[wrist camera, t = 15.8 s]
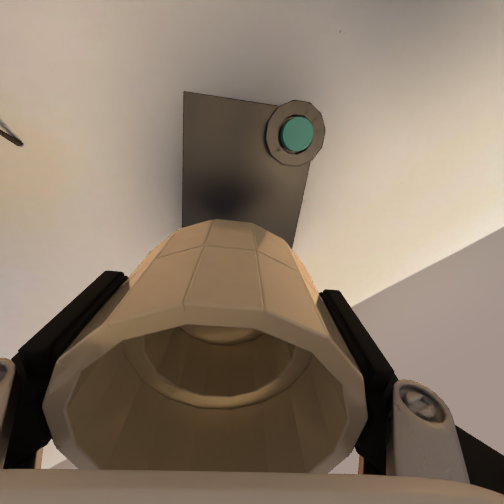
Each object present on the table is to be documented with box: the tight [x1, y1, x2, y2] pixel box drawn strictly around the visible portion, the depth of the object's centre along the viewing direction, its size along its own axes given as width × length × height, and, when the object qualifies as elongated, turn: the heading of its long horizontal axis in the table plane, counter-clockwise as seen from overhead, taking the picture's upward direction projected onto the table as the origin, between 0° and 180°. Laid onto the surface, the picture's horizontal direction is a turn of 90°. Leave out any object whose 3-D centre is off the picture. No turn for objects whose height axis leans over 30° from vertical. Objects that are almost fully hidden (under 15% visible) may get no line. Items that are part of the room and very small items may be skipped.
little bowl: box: [42, 219, 368, 474], centre depth 8 cm, size 7×7×6 cm
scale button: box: [280, 117, 314, 151], centre depth 24 cm, size 3×3×2 cm
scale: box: [182, 91, 325, 249], centre depth 27 cm, size 16×14×3 cm
